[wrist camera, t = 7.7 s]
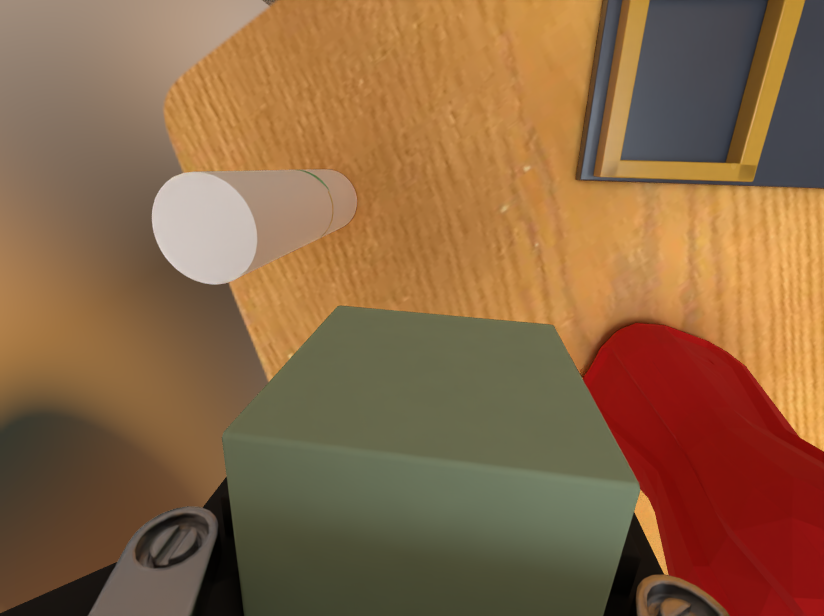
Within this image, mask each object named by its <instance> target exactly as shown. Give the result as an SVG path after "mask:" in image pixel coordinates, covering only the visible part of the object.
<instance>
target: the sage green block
mask: <svg viewBox="0 0 824 616" xmlns="http://www.w3.org/2000/svg"><path fill="white" fill-rule="evenodd" d="M222 442H223V450H224V458H225V466H226V474H227V482H228V490H229V498H230V506H231V514H232V522H233V530H234V538H235V546H236V554H237V562H238V570H239V578H240V586H241V594H242V602H243V610H244V616H603V614H604V611H605V607H606V604H607V601H608V597H609V594H610V591H611V587H612V584H613V580H614V577H615V574H616V570H617V567H618V564H619V560H620V557H621V554H622V550H623V547H624V543H625V540H626V537H627V533H628V530H629V527H630V523H631V520H632V516H633V513H634V510H635V506H636V503H637V500H638V496H639V493H640V485H639V482H638V481H637V479H636V477H635V475H634V473H633V471H632V469H631V468H630V466H629V464H628V462H627V460H626V458H625V456H624V455H623V453H622V451H621V449H620V447H619V445H618V444H617V442H616V440H615V438H614V436H613V434H612V432H611V431H610V429H609V427H608V425H607V423H606V421H605V420H604V418H603V416H602V414H601V412H600V410H599V408H598V407H597V405H596V403H595V401H594V399H593V397H592V396H591V394H590V392H589V390H588V388H587V386H586V384H585V383H584V381H583V379H582V377H581V375H580V373H579V371H578V370H577V368H576V366H575V364H574V362H573V360H572V359H571V357H570V355H569V353H568V351H567V349H566V347H565V346H564V344H563V342H562V340H561V338H560V336H559V335H558V333H557V331H556V329H555V327H554V326H553V325H549V324H538V323H527V322H516V321H505V320H494V319H483V318H472V317H460V316H449V315H438V314H427V313H416V312H405V311H394V310H383V309H372V308H361V307H349V306H337V308H336V309H335V310H334V311H333V312H332V313H331V314H330V315H329V316H328V318H327V319H326V320H325V321H324V322H323V323H322V324H321V325H320V326H319V327H318V329H317V330H316V331H315V332H314V333H313V334H312V335H311V336H310V337H309V338H308V340H307V341H306V342H305V343H304V344H303V345H302V346H301V347H300V348H299V350H298V351H297V352H296V353H295V354H294V355H293V356H292V357H291V358H290V359H289V361H288V362H287V363H286V364H285V365H284V366H283V367H282V368H281V369H280V370H279V372H278V373H277V374H276V375H275V376H274V377H273V378H272V379H271V380H270V382H269V383H268V384H267V385H266V386H265V387H264V388H263V389H262V391H260V393H259V394H258V395H257V396H256V397H255V398H254V399H253V400H252V401H251V403H250V404H249V405H248V406H247V407H246V408H245V409H244V410H243V411H242V412H241V414H240V415H239V416H238V417H237V418H236V419H235V420H234V421H233V422H232V423H231V425H230V426H229V427H228V428H227V429H226V430H225V431H224V433H223V437H222Z"/></svg>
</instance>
